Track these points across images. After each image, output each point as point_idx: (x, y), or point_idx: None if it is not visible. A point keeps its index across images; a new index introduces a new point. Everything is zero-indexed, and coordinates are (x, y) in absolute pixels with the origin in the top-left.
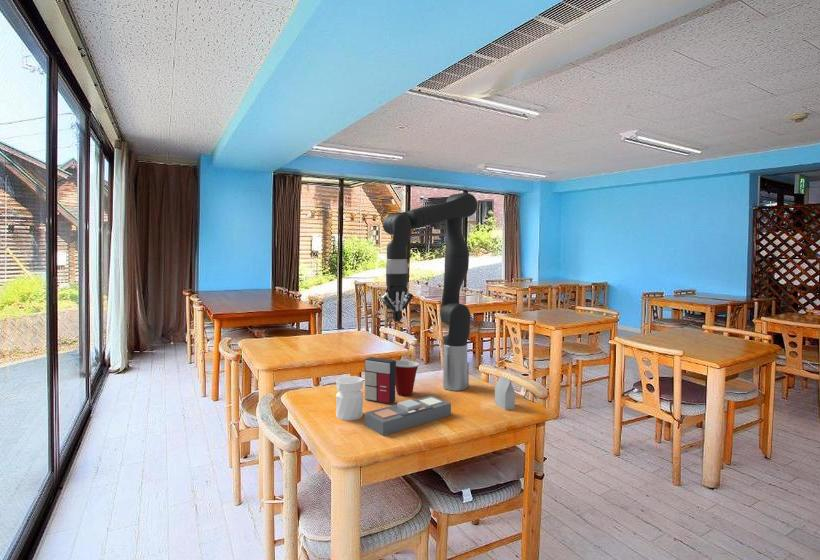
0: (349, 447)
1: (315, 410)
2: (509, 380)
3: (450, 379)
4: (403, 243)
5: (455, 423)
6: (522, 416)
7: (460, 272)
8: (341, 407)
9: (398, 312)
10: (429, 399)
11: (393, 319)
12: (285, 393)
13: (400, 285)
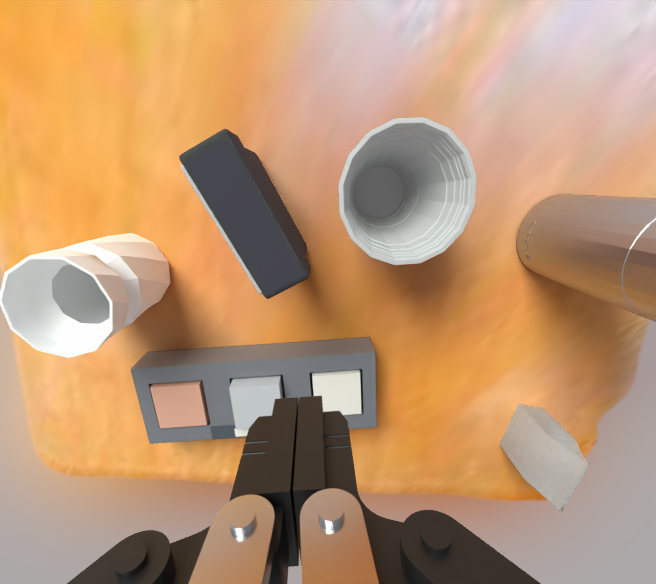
0: (73, 433)
1: (41, 168)
2: (560, 508)
3: (541, 263)
4: None
5: None
6: (494, 485)
7: None
8: (78, 298)
9: (292, 548)
10: (342, 384)
11: (256, 429)
12: None
13: None
